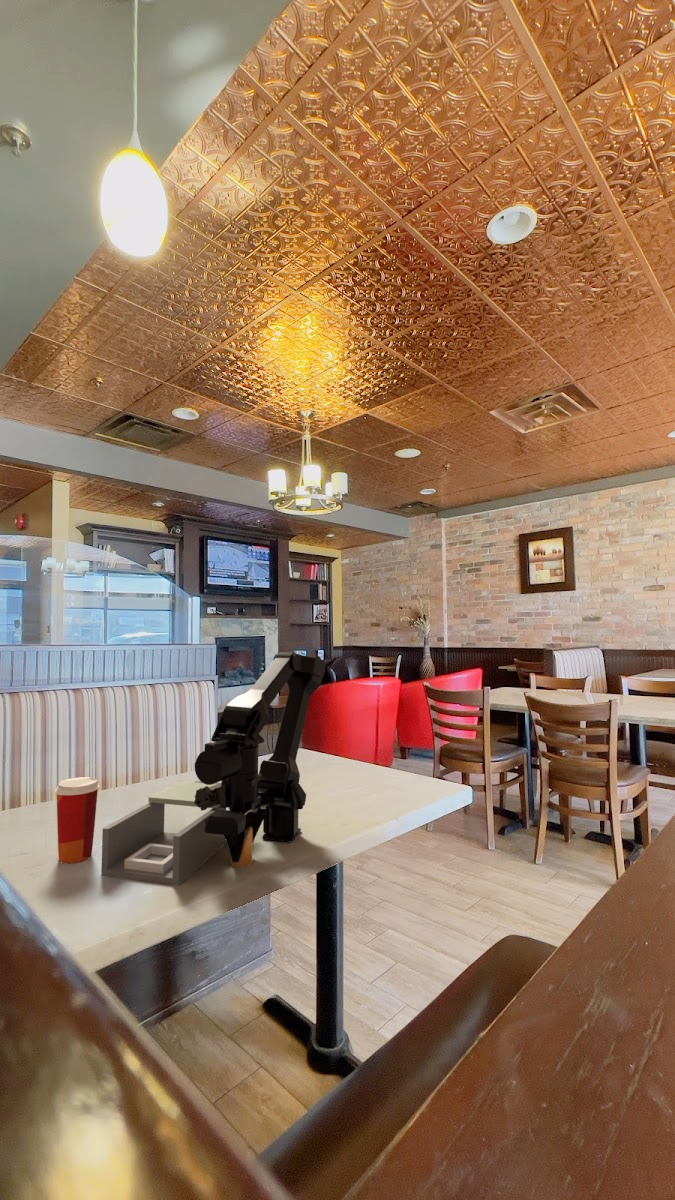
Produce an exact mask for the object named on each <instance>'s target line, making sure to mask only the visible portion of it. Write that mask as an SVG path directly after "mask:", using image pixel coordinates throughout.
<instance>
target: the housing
mask: <svg viewBox="0 0 675 1200" xmlns="http://www.w3.org/2000/svg"><path fill="white" fill-rule="evenodd" d="M165 805H166V804H161V803H150V802H148V803H147V804H145V805H143V806H141V807H139V808H138V809H136V810H134V811H132V812H130V813H128V814H126V815H124V816H122V817H121V818H119V819H117V820H115V821H113V822H112V823H110V824H108V825H106V826H104V827H103V828H102V841H101V868H100V869H101V873H100V876H107V877H114V878H123V879H129V880H137V881H145V882H151V883H160V884H167V885H175V886H180V885H181V884H182V883H183V882H185V880H186V879H187V878H188V877H189V878H190V876H191V875H192V874H193V873H194V872H195V871H197V869H199V868H200V867H201V866H203V864H205V862H207V860H209V859H210V858H211V857H212V856H213V855H215V854H216V853H217V852H218V851H219V850H220V849H221V848H223V847H224V846H225V845H226V839H225V836H224V835H220V834H210V833H205V820H206V819H207V818H208V817H209V816H210V815H212V814H213V813H214V812H216V811H217V810H227V808H220V807H219V808H217V809H215V808H210V810H208V811H206V812H205V813H204V814H202V815H201V816H200V817H198V818H196V820H194V821H192V822H191V823H189V824H188V825H187V826H185V827H184V828H183V829H181V830H180V831H179V832H177V833H174V832H173V833H172V832H167V831H165Z"/></svg>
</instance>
